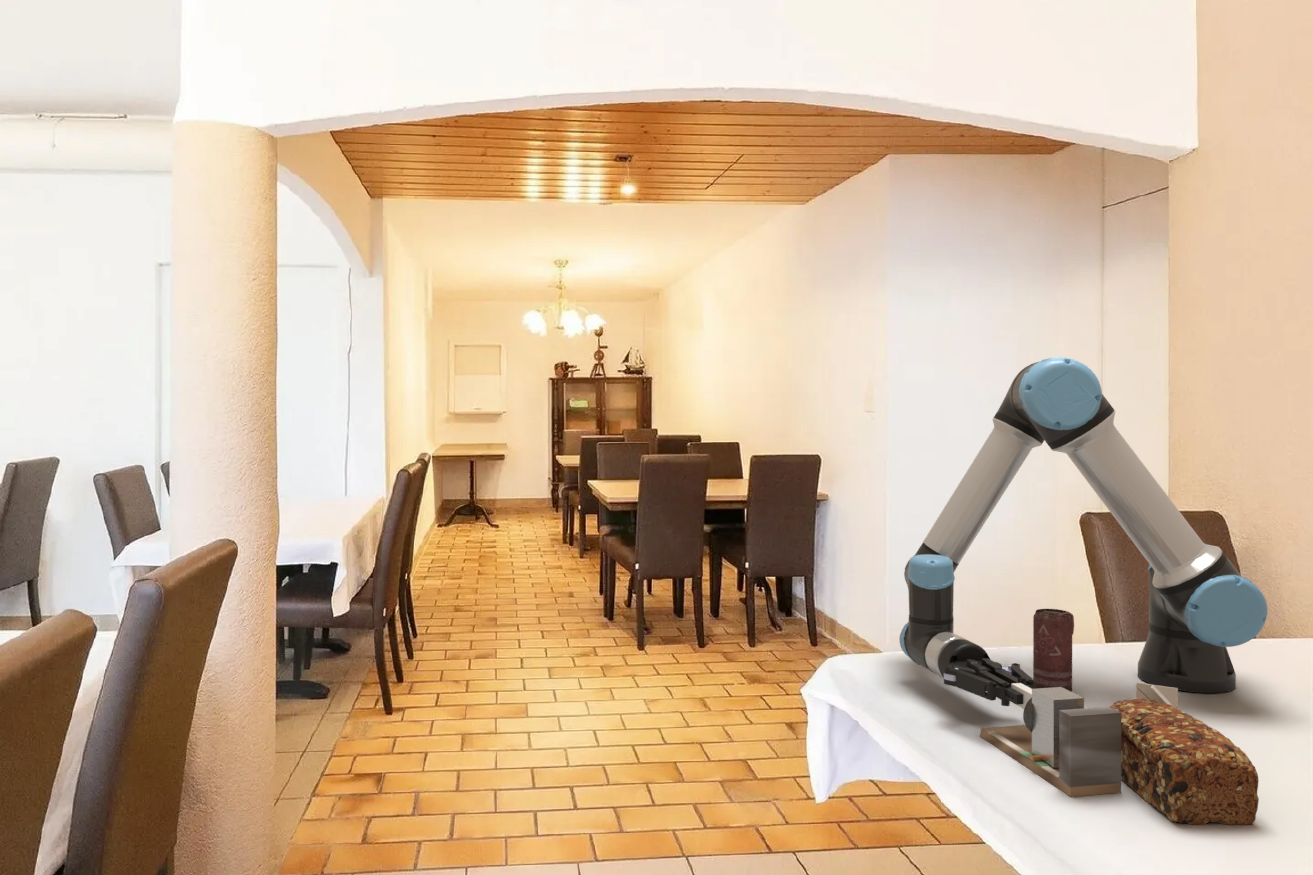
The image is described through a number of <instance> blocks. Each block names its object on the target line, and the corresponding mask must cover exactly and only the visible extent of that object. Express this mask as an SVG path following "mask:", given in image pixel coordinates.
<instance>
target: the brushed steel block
mask: <svg viewBox="0 0 1313 875" xmlns="http://www.w3.org/2000/svg"><path fill="white" fill-rule="evenodd" d="M1083 708H1085V697H1082V696H1080V695H1079V694H1077V693H1075V692H1073V691H1072V692H1071V691H1068V690H1066V689H1064V688H1062V687H1053V688H1038V689H1032V698H1031V699H1030V700H1029V701H1028V702H1027V704H1026V706H1025V708H1024V709H1023V715H1022V716H1023V717H1022V718H1023V722H1024V726H1026V727H1027V729H1028V730H1029V731H1030V732H1032V754H1033V756H1030V759H1032V760H1042V761H1044V762H1045V763H1047V764H1048V765H1050V766H1051V767H1053V768H1059V710H1069V709H1083Z"/></svg>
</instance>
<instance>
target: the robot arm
mask: <svg viewBox="0 0 1313 875" xmlns="http://www.w3.org/2000/svg"><path fill="white" fill-rule="evenodd" d="M1102 391H1103V390H1102V387H1101V383H1100V380H1099V379H1098V376H1096V374H1095V373H1094V371H1093V370H1092V369H1091V368H1089V367H1088V366H1087V365H1086V364H1084V363H1083V362H1080V361H1079V360H1076V359H1074V358H1069V357H1063V356H1057V357H1048V358H1045V359H1041V361H1037V362H1033V363H1031V364H1029V365H1027V366H1025V367H1024V368H1022V369H1021V370H1020V371H1019V372H1018V374H1016V376H1014V379H1013V380H1012V382H1011V384H1010V386H1009V388H1008V390H1007V392H1006V394H1005V397H1004V398H1003V400H1002V402H1001V404H1000V406H999V407H998V409H997V411H996V413H995V415H994V416H993V417H992V424H993V425H994V426H993V429H992V431H991V432H990V434H989V436H988V437H987V438H986V440H985V441H984V443H983V445H982V446H981V448H980V450H979V451H978V453H977V454H976V456H975V457H974V459H973V461H972V463H971V464H970V466H969V468H968V469H967V470H966V472H965V474H964V476H963V477H962V478H961V480H960V482H959V483H958V485H957V486H956V488H955V489H954V491H953V493H952V495H951V496H950V498H949V499H948V501H947V502H946V504H945V505H944V507H943V509H942V511H941V512H940V514H939V516H938V517H937V518H936V520H935V521H934V524H933V525H932V527H931V528H930V530H929V531H928V533H927V535H926V537H925V538H924V539H923V541H922V544H921V545H920V546H919V548H918V549H917V551H916V553H915V554H914V555H912V556H911V557H910V558H909V560H908V561H907V563H906V565H905V567H904V572H903V573H904V574H903V575H904V581H905V582H906V585H907V586H906V587H907V590H908V622H907V623H905V624H904V626H903V627H902V630H901V632H900V634H899V638H898V639H899V645H900V648H901V650H902V652H903V654H904V655H906V657H908V658H909V659H910V660H911V661H912V662H914V664H917V665H918V666H921V667H923V668H925V669H927V670H929V671H930V672H931V673H933V674H935V675H937V676H939V677H940V678H942V679H943V684H944V685H946V686H951V687H955V688H958V689H959V690H963V691H965V692H968V693H971V694H973V695H976V696H979V697H981V698H983V699H986V700H989V701H992V702H993V701H996V700H997V699H999V700H1001V702H1000V704H1001V706H1003V707H1010V705H1011V704H1010V703H1012V704H1014V705H1016V706H1017V707H1019V708H1021V709H1023V710H1024V708H1025V706H1026V704H1027V702H1028V701H1029V700H1030V699H1031V698H1032V689H1035V681H1034V680H1033V678H1032V677H1031V676H1030V675H1029V674H1028V673H1026V672H1025V671H1024V670H1023V669H1022V668H1021V664H1019V663H1017V662H1014V663H1011V665H1010V664H1008V665H1007V667H1006V666H1005V667H1003V666H1002V665H1003V664H1002V663H1000V662H997V661H993V660H992V659H991V657H990V656H989V654H988V653H987V651H986V650H985V649H984V648H983V647H982V646H980V645H978V644H976V643H974V642H973V641H970V640H969V639H967V638H964V637H962V636H960V635H958V634H956V633H954V622H955V621H954V588H955V587H954V584H955V582H954V581H955V579H956V576H955V572H956V570H957V568H958V566H959V564H960V562H962V559H963V558H964V556H965V555H966V553H967V551H968V550H969V548H970V547H971V545H972V544H973V543H974V540H975V539H976V537H977V536H978V535H979V532H981V530H982V529H983V526H984V525H985V524H986V521H988V519H989V517H990V515H991V514H992V512H993V511H994V510H995V508H996V506H997V504H998V503H999V501H1000V499H1001V498H1002V497H1003V495H1004V494H1005V492H1006V491H1007V489H1008V488H1009V485H1010V484H1011V483H1012V481H1013V480H1014V478H1015V476H1016V475H1017V473H1018V471H1019V470H1020V468H1021V467H1022V465H1023V464H1024V462H1025V461H1026V459H1027V458H1028V456H1029V455H1030V453H1031V451H1032V450H1033V449H1034V448H1038V447H1040V446H1042V445H1043V443H1044V442H1045V443H1046V444H1047V446H1048V447H1049V449H1050V450H1052V451H1053V452H1057V453H1058V452H1059V453H1063V454H1066V455H1067V456H1068V458H1069V459H1070V460H1071V462H1072V463H1073V464H1074V466H1075V467H1076V469H1077V470H1078V471H1079V472H1080V474H1081V476H1082V477H1083V478H1084V479H1085V480H1086V482H1087V484H1089V485H1090V487H1091V488H1092V490H1093V492H1095V494H1096V495H1097V496H1098V498H1099V499H1100V500H1101V502H1102V503H1103V504H1104V506H1105V507H1106V508H1107V510H1108V511H1109V512H1110V513H1111V515H1112V517H1113V518H1114V519H1115V520H1116V521H1117V523H1118V524H1119V526H1121V528H1122V530H1124V532H1125V533H1126V535H1127V536H1128V538H1129V539H1130V540H1131V542H1132V543H1133V544H1134V545H1135V547H1136V548H1137V549H1138V551H1139V553H1141V555H1142V556H1143V558H1144V559H1145V560H1146V561H1147V563H1148V568H1147V572H1148V636H1147V637H1146V640H1145V644H1144V647H1143V649H1142V652H1141V654H1140V656H1139V660H1138V662H1137V676H1138V678H1139V679H1141V680H1142V681H1144V682H1146V683H1147V684H1151V685H1158V686H1165V687H1172V688H1178V691H1181V692H1190V693H1200V694H1203V693H1204V694H1207V693H1208V694H1212V693H1213V694H1215V693H1216V694H1218V693H1225V692H1230V691H1233V690H1234V689H1236V686H1237V684H1236V683H1237V682H1236V681H1237V675H1236V671H1235V668H1234V665H1233V663H1232V659H1231V656H1230V653H1229V650H1228V649H1227V648H1230V647H1231V648H1232V647H1237V646H1240V645H1244V644H1245V643H1248V642H1250V641H1251V640H1253V639H1254V638H1256V637H1257V636H1258V635H1259V633H1260V632H1261V631H1262V629H1264V626H1265V624H1266V621H1267V617H1268V604H1267V600H1266V598H1265V596H1264V594H1263V592H1262V591H1261V590H1260V588H1259V587H1258V586H1257V585H1256V584H1255V583H1253V581H1252V580H1249V579H1248V578H1247V577H1243V576H1242V575H1241V573H1240V572H1239V571H1238V570H1237V568H1236V566H1234V565H1233V563H1232V562H1231V561H1230V559H1229V558H1228V557H1227V556H1226V554H1225V553H1224V551H1223V550H1222V549H1221V547H1219V546H1216V545H1211V544H1207V543H1204V542H1203V540H1202V539H1201V538H1200V536H1199V535H1198V533H1197V532H1196V531H1195V530H1194V528H1193V527H1192V526H1191V525H1190V523H1189V522H1188V521H1187V519H1186V518H1185V516H1183V514H1182V513H1181V512H1180V510H1179V509H1178V508H1177V507H1176V505H1175V504H1174V502H1173V501H1172V499H1171V498H1170V497H1169V495H1167V493H1166V492H1165V490H1163V488H1162V486H1161V485H1160V484H1159V483H1158V481H1157V480H1156V479H1155V477H1154V476H1153V475H1152V473H1151V472H1150V471H1149V470H1148V468H1147V467H1146V466H1145V464H1144V463H1143V462H1142V461H1141V459H1140V458H1139V456H1138V455H1137V454H1136V453H1135V450H1133V449H1132V447H1131V445H1130V444H1129V443H1128V442H1127V441H1126V439H1125V438H1124V437H1123V435H1122V434H1121V433H1120V431H1119V430H1118V429H1117V428H1116V426H1115V424H1114V421H1115V415H1116V410H1115V409H1114V407H1113V406H1112V404H1111V403H1110V402H1109V401H1108V399H1107V398H1106V397H1105V396H1104V393H1103V392H1102Z"/></svg>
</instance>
